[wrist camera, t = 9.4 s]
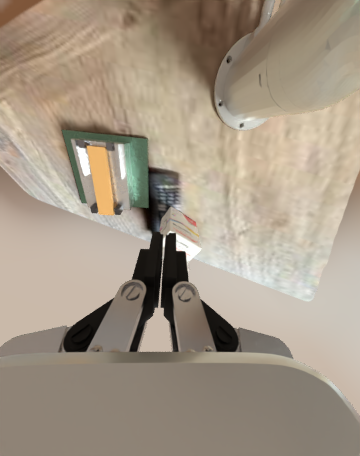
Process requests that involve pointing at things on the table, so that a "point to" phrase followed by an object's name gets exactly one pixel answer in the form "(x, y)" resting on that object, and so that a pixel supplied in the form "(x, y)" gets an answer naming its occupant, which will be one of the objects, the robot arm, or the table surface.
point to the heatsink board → (136, 163)
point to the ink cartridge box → (181, 233)
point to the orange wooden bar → (101, 179)
